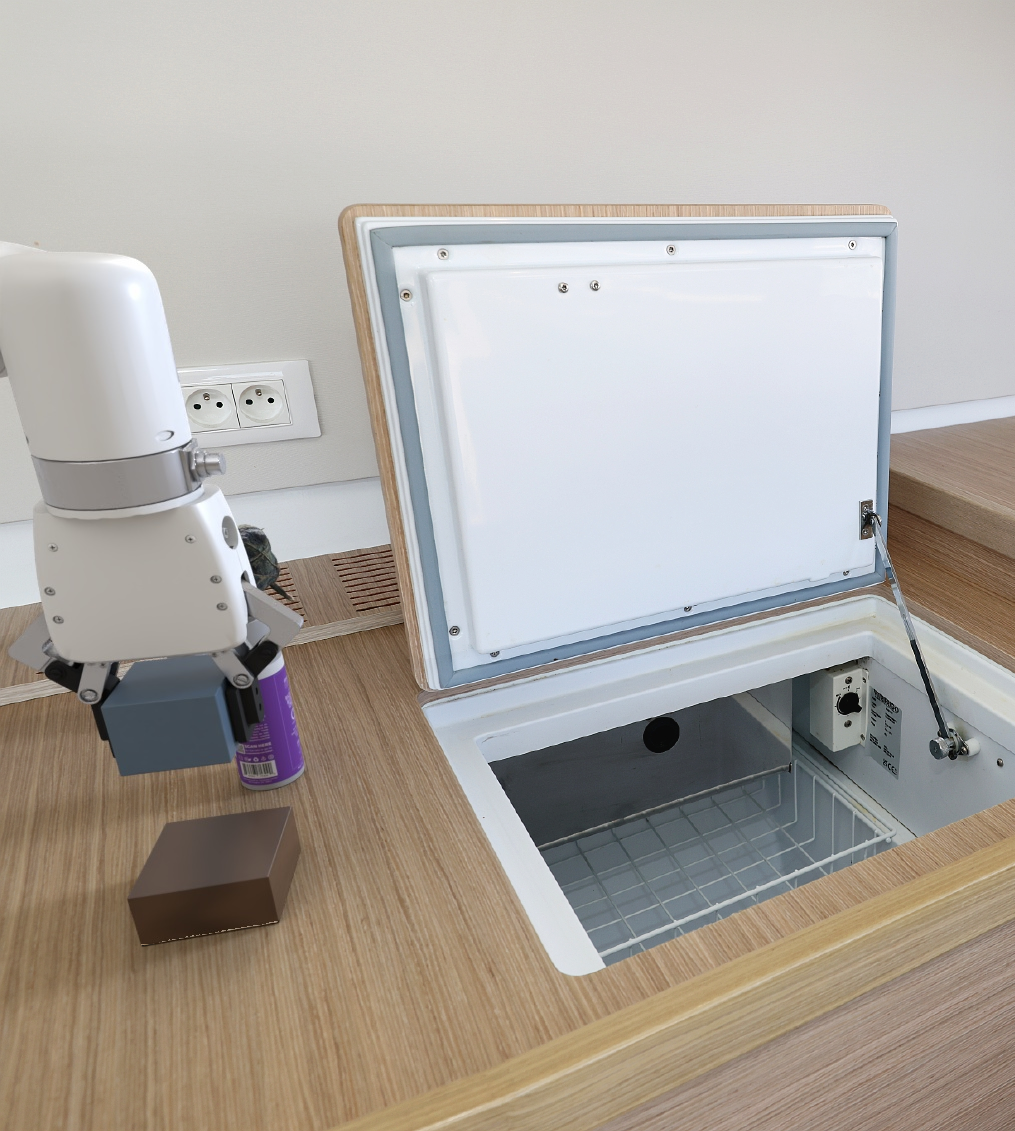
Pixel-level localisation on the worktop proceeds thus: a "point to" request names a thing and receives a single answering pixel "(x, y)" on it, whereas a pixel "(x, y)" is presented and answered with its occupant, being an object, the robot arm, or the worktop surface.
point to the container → (271, 729)
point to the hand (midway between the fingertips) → (188, 736)
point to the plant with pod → (261, 559)
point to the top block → (170, 716)
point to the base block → (216, 875)
